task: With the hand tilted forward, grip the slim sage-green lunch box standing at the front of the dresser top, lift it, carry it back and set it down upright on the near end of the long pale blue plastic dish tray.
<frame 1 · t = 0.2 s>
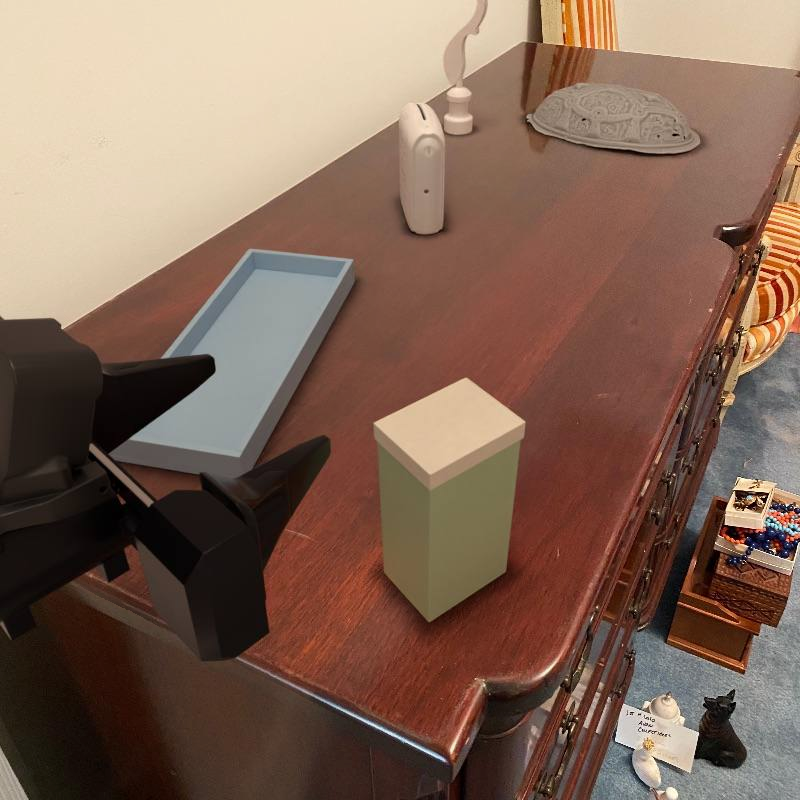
hand: (267, 400, 38), 16 cm above the dresser, tool horizontal, fingers open, 9 cm apart
photo printer: (421, 216, 89), on the dresser
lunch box: (444, 572, 49), on the dresser
dish tray: (249, 357, 68), on the dresser
grey textured dome: (610, 130, 109), on the dresser
decorative finial: (461, 131, 110), on the dresser
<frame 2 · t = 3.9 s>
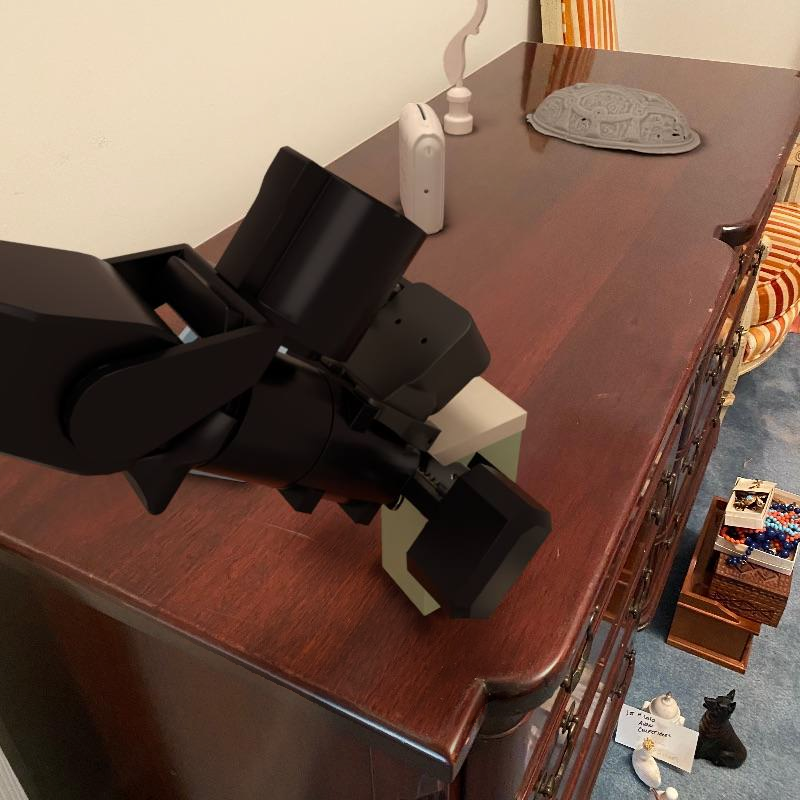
hand: (470, 483, 46), 7 cm above the dresser, tool tilted 45°, fingers closed on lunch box, 6 cm apart
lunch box: (443, 568, 49), on the dresser, touching gripper
everything else where it was.
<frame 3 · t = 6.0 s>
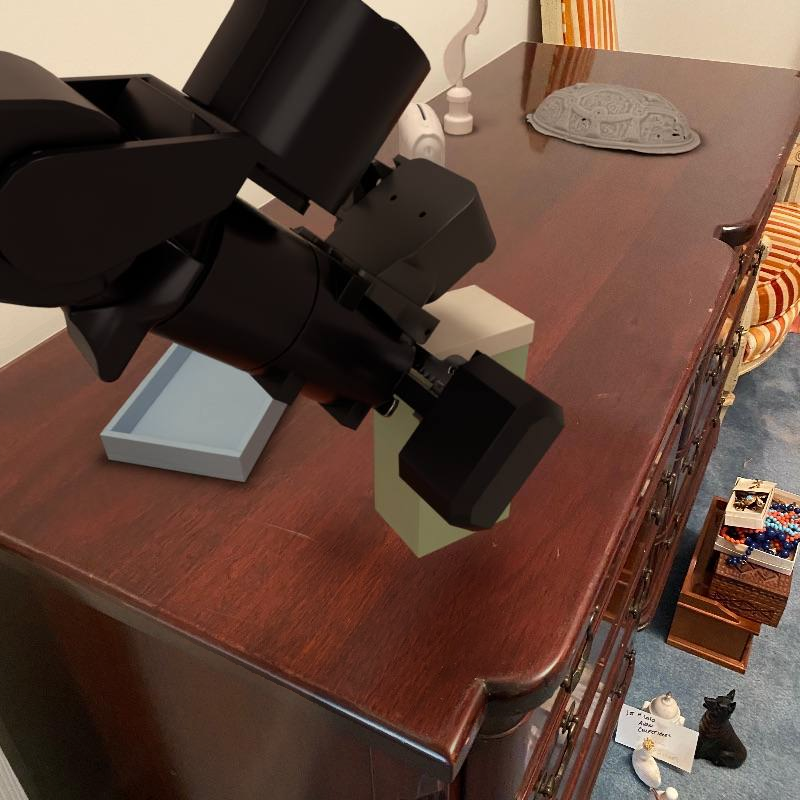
hand: (468, 407, 41), 13 cm above the dresser, tool tilted 45°, fingers closed on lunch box, 5 cm apart
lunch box: (441, 513, 45), point 6 cm above the dresser, tilted 6°, touching gripper
everything else where it was.
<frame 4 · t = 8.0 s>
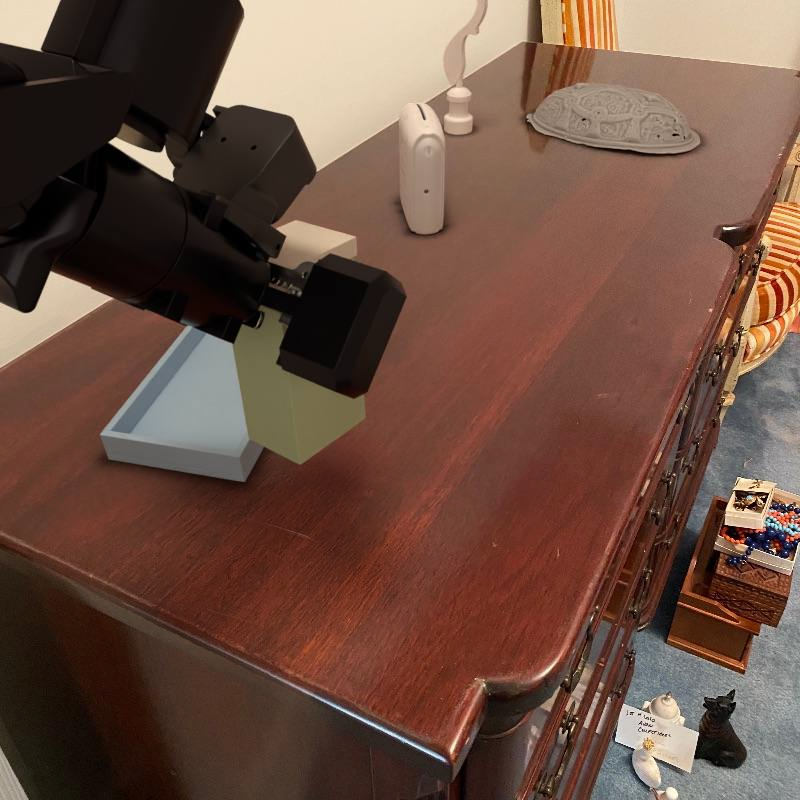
hand: (313, 326, 48), 13 cm above the dresser, tool tilted 45°, fingers closed on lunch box, 5 cm apart
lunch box: (308, 428, 51), point 6 cm above the dresser, tilted 6°, touching gripper
everything else where it was.
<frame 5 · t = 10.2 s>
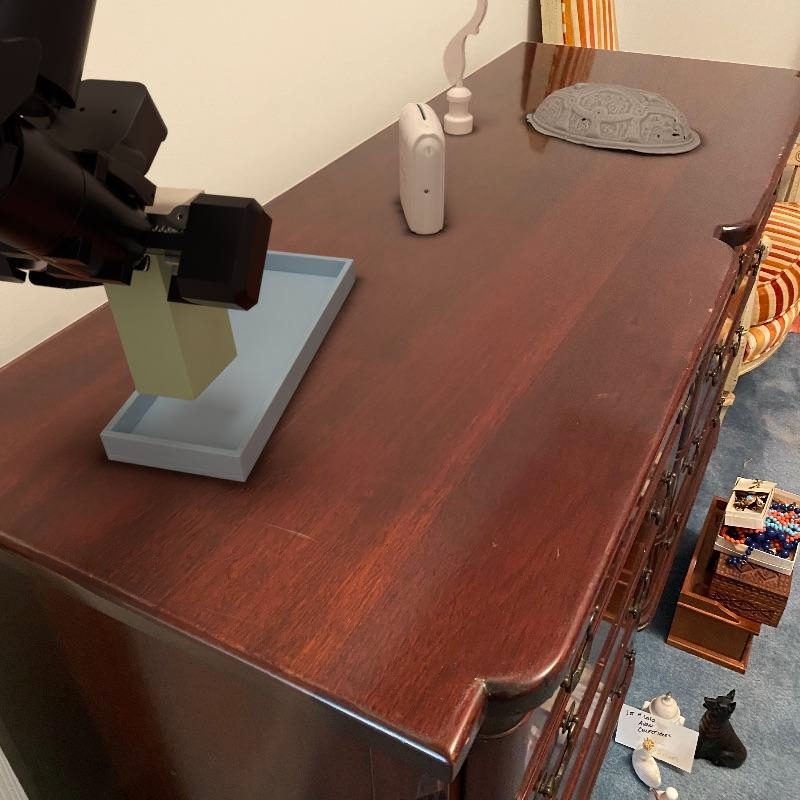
hand: (177, 277, 54), 13 cm above the dresser, tool tilted 45°, fingers closed on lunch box, 5 cm apart
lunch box: (188, 374, 57), point 6 cm above the dresser, tilted 6°, touching gripper
everything else where it was.
when the fingers open (8 cm above the dresser, at t = 12.0 s): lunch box stays where it is, resting on dish tray.
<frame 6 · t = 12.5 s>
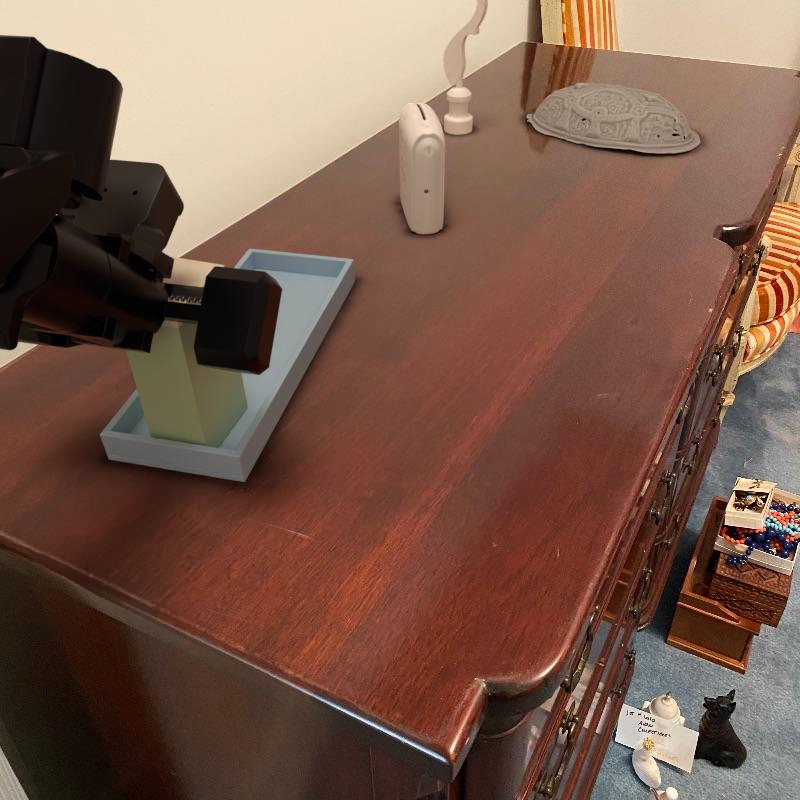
hand: (191, 332, 57), 8 cm above the dresser, tool tilted 45°, fingers open, 9 cm apart
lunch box: (202, 426, 60), point 1 cm above the dresser, touching dish tray, gripper
everything else where it was.
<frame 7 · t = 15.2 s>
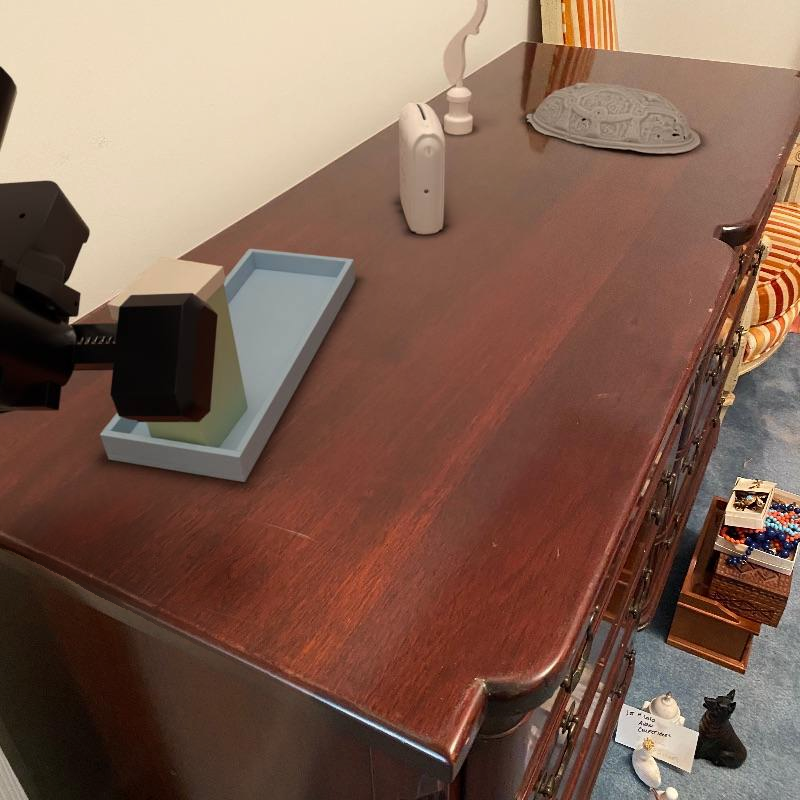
hand: (123, 392, 47), 11 cm above the dresser, tool tilted 40°, fingers open, 9 cm apart
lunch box: (202, 427, 60), point 1 cm above the dresser, touching dish tray
everything else where it was.
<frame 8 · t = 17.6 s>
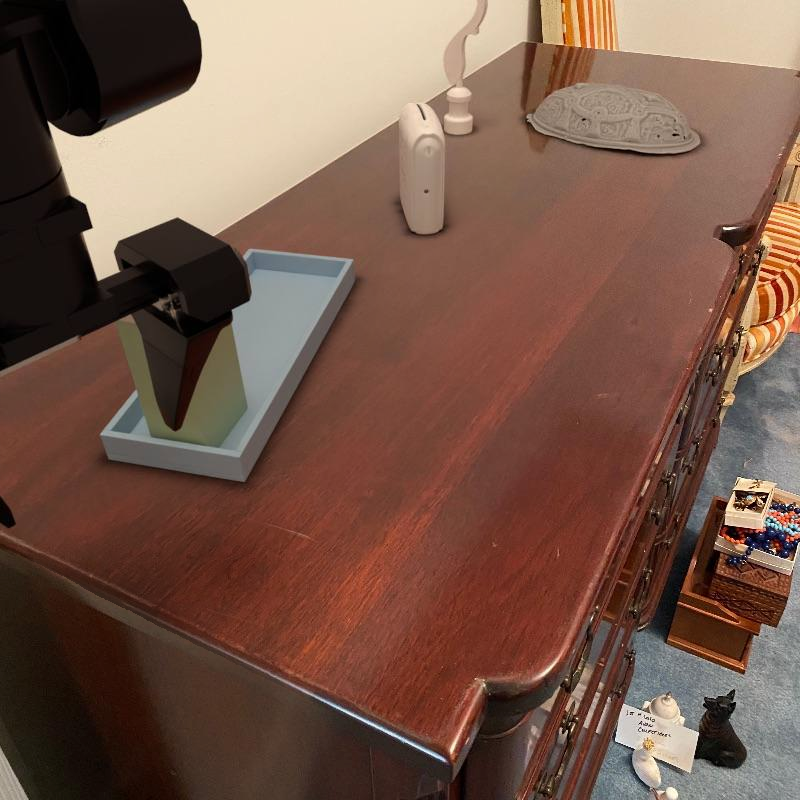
hand: (96, 471, 39), 13 cm above the dresser, tool pointing down, fingers open, 9 cm apart
nothing on the dresser moved.
at the end: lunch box inside the target area in the dish tray (0.8 cm from its centre), point 0.6 cm above the dish tray's base; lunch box tilted 0°; the gripper is holding nothing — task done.
